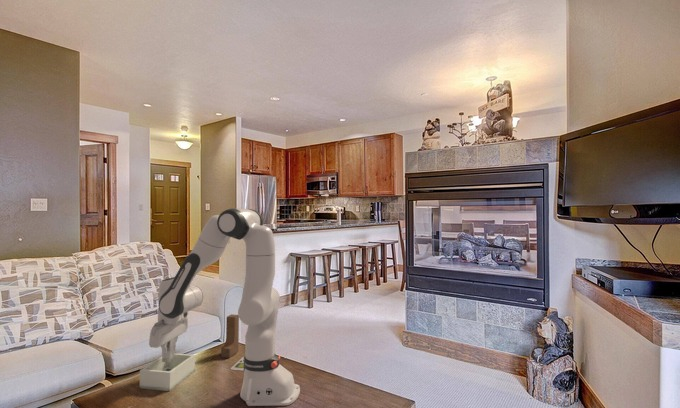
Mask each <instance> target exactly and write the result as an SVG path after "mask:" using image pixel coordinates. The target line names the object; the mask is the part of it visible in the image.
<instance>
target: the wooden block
mask: <svg viewBox="0 0 680 408" xmlns="http://www.w3.org/2000/svg"><path fill="white" fill-rule="evenodd" d="M239 323H240V318H239V315H238V314H232V313H231V314H229V315H228V316H226V328H225V329H226V331H225V333H226V335H225V337H226V338H225V343H224V344H223V346H222V347H221V349H220V358H223V359H225V358H226V359H230V358H232V357H233V356H234V355H235V354H237V353H238V352H239V340H240V339H239V333H240V332H239V330H240V329H239V328H240V325H239Z"/></svg>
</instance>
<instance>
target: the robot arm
mask: <svg viewBox="0 0 680 408" xmlns="http://www.w3.org/2000/svg"><path fill="white" fill-rule="evenodd" d="M231 238H232V239H236V240H238V241H240V240H243V241H244V242H245V276H244V283H243V288H242V293H241V294H242V295H241V300H240V304H239V306H238V310H237V315H239V321H241V323H242V324H244V325H246V326H247V330H246V332H245V335H244V336H245V337H244V338H245V341H244V343H245V346H244V347H245V349H244V355H243V356H244V371H243V373H244V374H243V381H242V385H241V386H242V387H241V389H240V393H239V397H240V398H241V399H242V400H243V402H244V401H245V403H246V405H247V406H248V407H256V406H257V407H260V406H261V407H263V406H264V407H265V406H266V407H269V406H272V407H273V406H274V407H275V406H289V405H291V404H293V403H294V402H295V401H296V400H297V399H298V397H299V395H300V393H301V387H300V385H299V384H297V383H295V379H294V376H293V373H292V372H290V370H287V369H286V368H285V367H284V366H282V364H280V359H281V355H278V356H277V355H276V353H275V347H276V346H275V344H276V338H275V337H276V327H277V321H278V313H279V305H280V299H281V298H280V297H281V296H280V293H279V292H278V290H277V289H276V288H275V287H273V284H274V279H275V276H276V247H275V245H276V244H275V239H274V233H273V230H272V229H271V228H270V227H268V226H266V225H264V219H263V215H262V214H261V213H260V212H258V211H257V210H255V209H251V208H250V209H249V208H243V207H237V208H233V207H232V208H228V209H226V210H223V211H222V212H221V213H220V214H216V215H215V214H214V215H212V216H211V217H210V218H209V219H208V220H207V222H206V223H205V225H204V226H203V228H202V230H201V232H200V234H199V236H198V239H197V241H196V243H195V244H194V246H193V248H192V250H191V251H190V252H189V254H188V255H187V256H186V257H185V259H184V260H183V262H182V264H181V266H180V267H179V269H178V271H177V273H176V274H175V276H174V277H168V278H164V279H162V280H161V281H160V283H159V286H158V293H157V295H158V296H157V297H158V298H157V301H158V309H157V322H155V323H154V324H153V326H152V327H151V329H150V333H149V341H148V346H149V347H150V348H155V349H156V348H161V353H167V352H168V348H167V346H166V345H167V342H169V341H170V340H172V339H174V338H175V337H176V344H175V348H177V342H178V339H179V337H180V335H182V334H184V333H186V332H187V331H188V328H189V326H188V325H189V318H188V316H189V312H190V311H192V310H195V309H196V308H198V307H200V306H201V305H202V303H203V300H204V294H203V291H202V289H201V288H200V287H198V286H197V285H192V281H193V280H194V278H195V277H196V276H197V275H198V274H199V273H200V272H201V271H203V270H204V269H205V268H207V267H209V266H211V265H213V264H214V263H216V262H218V261H219V259H220V258H221V257H222V255H223V253H224V252H225V250H226V247H227V245H228V242H229V241H230V239H231Z"/></svg>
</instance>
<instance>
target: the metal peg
mask: <svg viewBox="0 0 680 408" xmlns="http://www.w3.org/2000/svg"><path fill="white" fill-rule="evenodd" d="M175 344H176V345H177V342H176V337H175V338H174V339H172V340H170V341H169V342H167V345H166V346H167V348H168V352H167V353H162V352H161V353H162V354H161V357H162V362H171V361H173V360H174V359H175V354H176V347H175Z"/></svg>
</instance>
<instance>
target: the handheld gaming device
mask: <svg viewBox="0 0 680 408" xmlns="http://www.w3.org/2000/svg"><path fill="white" fill-rule="evenodd" d="M244 356H245V355H243V356H242V357H241V358H240V359H239V360H238V361H237V362H236V363H234V365H232V366H231V368H230V371H237V372H238V371H241V372H244Z"/></svg>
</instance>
